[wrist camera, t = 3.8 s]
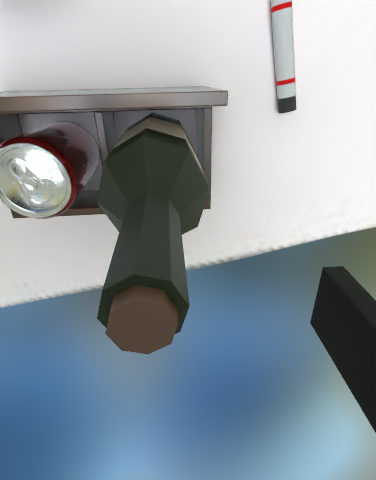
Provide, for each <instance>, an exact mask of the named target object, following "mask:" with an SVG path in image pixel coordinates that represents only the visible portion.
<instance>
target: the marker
mask: <svg viewBox="0 0 376 480" xmlns="http://www.w3.org/2000/svg"><path fill="white" fill-rule="evenodd" d="M271 14H272V28H273V42H274V56H275V70H276V84H277V98H278V106H279V113H285V112H291V111H294V110H296V85H295V62H294V40H293V17H292V0H271Z"/></svg>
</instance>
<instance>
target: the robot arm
mask: <svg viewBox="0 0 376 480" xmlns="http://www.w3.org/2000/svg"><path fill="white" fill-rule="evenodd" d="M310 323H311V325H312V326H313V328H314V330H315V331H316V333H317V335H318V337H319V338H320V340H321V342H322V343H323V345H324V347H325V348H326V350H327V351H328V353H329V355H330V357H331V358H332V360H333V362H334V364H335V365H336V367H337V369H338V370H339V372H340V373H341V375H342V377H343V379H344V380H345V382H346V384H347V385H348V387H349V389H350V390H351V392H352V394H353V395H354V397H355V399H356V400H357V402H358V404H359V405H360V407H361V409H362V411H363V412H364V414H365V416H366V417H367V419H368V421H369V422H370V424H371V426H372V427H373V429H374V431H375V432H376V301H375V300H374V298H372V296H371V295H370V294H369V293H368V292H367V291H366V290H365V289H364V288H363V287H362V286H361V285H360V284H359V283H358V282H357V281H356V280H355V278H353V276H352V275H351V274H350V273H349V272H348V271H347V270H346V269H345V268H344V267H343V266H340V267H323V270H322V274H321V278H320V283H319V287H318V291H317V296H316V301H315V305H314V309H313V314H312V318H311V322H310Z"/></svg>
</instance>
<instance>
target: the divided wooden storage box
mask: <svg viewBox="0 0 376 480" xmlns="http://www.w3.org/2000/svg"><path fill="white" fill-rule="evenodd" d="M227 100H228V91H227V90H221V89H215V88H210V87H204V86H203V87H166V88H128V89H91V90H53V91H16V92H0V144H1V143H3V142H5V141H7V140H9V139H11V138H14V137H16V136H19V135H22V131H21V127H20V123H19V120H18V116H17V114H41V113H74V112H94V115H95V121H96V127H97V134H98V140H99V146H100V153H101V159H102V166H103V164H104V160H105V159H106V158H107V156H108V155H109V154H110V152H111V151H112V149H113V148H114V147H115V145H116V144H117V143H116V136H115V128H114V120H113V113H112V111H140V110H172V109H198V161H199V163H200V165H201V168H202V170H203V172H204V175H205V177H206V180H207V182H208V184H209V187H210V191H209V194H208V197H207V200H206V203H205V206H204V209H210V204H211V203H210V202H211V134H212V106H227ZM98 196H99V191H82V192H80V194H79V195H78V196H77V198H76V199H75V200H74V202H73V203H72V204H71V206H70V207H69V208H68V209H67V210H66V211H64V212H63V213H62V214H60V215H57V216H72V215H92V214H105V213H104V211H103V210H102V209H101V207H100V206H99V205H98V203H97V202H98ZM10 209H11V208H10ZM11 212H12V215H13V218H30V217H27V216H24V215H21V214H19V213H17V212H15V211H14V210H12V209H11Z"/></svg>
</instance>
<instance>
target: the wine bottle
mask: <svg viewBox="0 0 376 480" xmlns="http://www.w3.org/2000/svg"><path fill="white" fill-rule="evenodd" d="M209 191H210V187H209V184H208V182H207V180H206V177H205V175H204V172H203V170H202V168H201V165H200V163H199V161H198V158H197V156H196V153H195V151H194V149H193V146H192V144H191V142H190V140H189V139H188V137H187V135H186V133H185V131H184V129H183V127H182V125H181V124H180V122H179V120H175V119H172V118H169V117H165V116H162V115H159V114H155V113H151V114H149V115H148V116H146V117H144V118H143V119H141V120H140V121H138V122H136V123H135V124H133V125H132V126H130V127H129V128H128V129H127V131H126V132H125V133H124V135H123V136H122V137H121V139H120V140H119V141H118V143H117V144H116V145H115V147H114V148H113V149H112V151H111V152H110V154H109V155H108V156H107V158H106V159H105V160H104V164H103V171H102V177H101V183H100V190H99V196H98V202H97V203H98V205H99V206H100V207H101V209H102V210H103V211H104V213H105V214H106V215H107V217H108V218H109V219H110V220H111V222H112V223H113V224H114V226H115V227H116V228H117V230H118V231H119V232H120V233H119V236H118V239H117V243H116V246H115V250H114V253H113V256H112V260H111V263H110V267H109V270H108V273H107V277H106V280H105V284H104V287H103V290H102V296H101V301H100V306H99V311H98V316H97V319H98V320H99V321H100V322H101V323H102V324H103V325H104V326H105V327H106V328H107V329H106V333H105V334H106V335H107V336H108V337H109V338H110V339H111V340H112V341H113V342H114V343H115V344H116V345H117V346H118V347H119V348H120V349H121V350H123V351H131V352H137V353H144V354H149V353H152V352H154V351H156V350H158V349H161V348H163V347H165V346H167V345H169V344H171V343H172V340H173V337H174V334H176V333H178V332H180V330H181V327H182V325H183V322H184V319H185V317H186V314H187V311H188V309H189V298H188V289H187V280H186V270H185V261H184V252H183V243H182V234H184V233H186V232H188V231H190V230H192V229H194V228H196V227H198V224H199V221H200V218H201V215H202V212H203V209H204V206H205V203H206V200H207V197H208V194H209Z"/></svg>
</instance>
